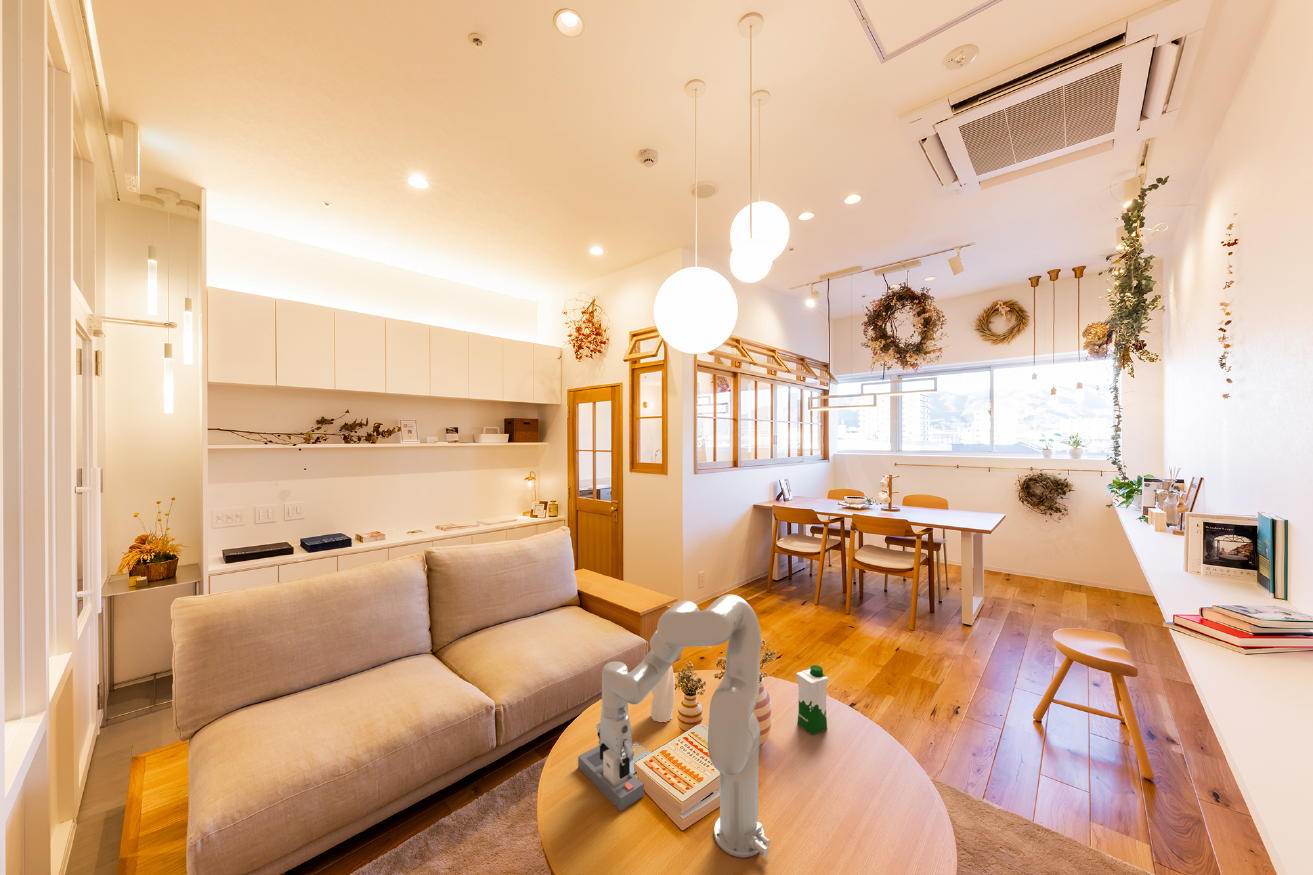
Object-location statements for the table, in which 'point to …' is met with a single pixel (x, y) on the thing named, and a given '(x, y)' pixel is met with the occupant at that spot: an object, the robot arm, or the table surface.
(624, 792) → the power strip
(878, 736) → the table surface
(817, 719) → the milk carton
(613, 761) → the block
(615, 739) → the robot arm
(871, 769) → the table surface
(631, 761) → the coaster
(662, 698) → the water bottle
